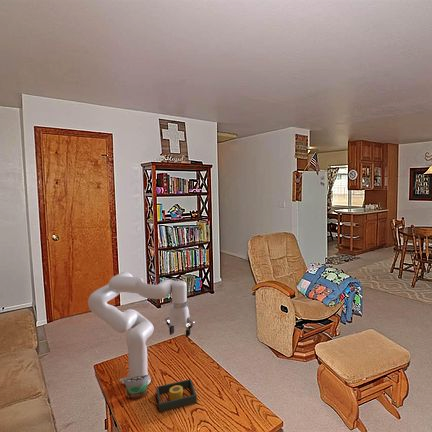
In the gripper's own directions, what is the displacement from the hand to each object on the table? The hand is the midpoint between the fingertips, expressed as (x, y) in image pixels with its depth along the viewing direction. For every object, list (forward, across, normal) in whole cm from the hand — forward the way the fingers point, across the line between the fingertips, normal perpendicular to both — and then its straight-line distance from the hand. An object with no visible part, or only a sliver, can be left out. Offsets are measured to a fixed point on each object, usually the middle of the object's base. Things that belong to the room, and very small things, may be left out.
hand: (179, 335), depth 184 cm
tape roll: (+29, +4, -11) cm, 31 cm away
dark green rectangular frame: (+29, +4, -11) cm, 31 cm away
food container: (+29, -15, -16) cm, 36 cm away
